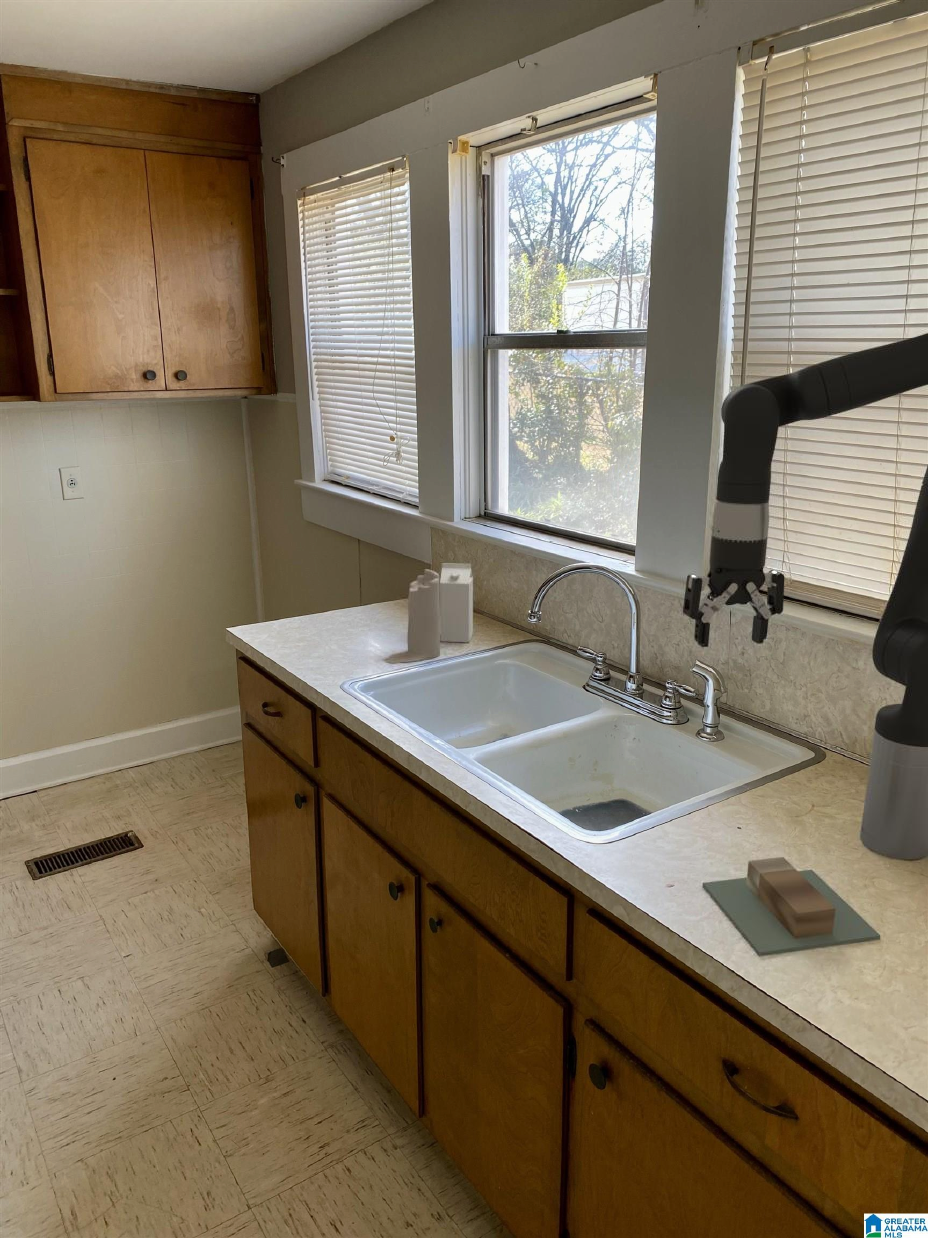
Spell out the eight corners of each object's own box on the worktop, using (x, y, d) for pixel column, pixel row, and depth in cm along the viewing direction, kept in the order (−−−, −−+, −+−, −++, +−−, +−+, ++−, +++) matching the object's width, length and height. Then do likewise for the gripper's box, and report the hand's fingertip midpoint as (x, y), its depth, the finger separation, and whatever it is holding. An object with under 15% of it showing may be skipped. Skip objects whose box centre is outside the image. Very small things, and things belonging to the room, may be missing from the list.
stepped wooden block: (832, 933, 111) (835, 908, 110) (794, 938, 110) (797, 913, 109) (780, 880, 123) (783, 857, 122) (746, 884, 122) (748, 861, 121)
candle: (378, 657, 214) (376, 574, 208) (430, 647, 220) (429, 566, 215) (392, 666, 208) (390, 580, 202) (445, 656, 214) (444, 573, 209)
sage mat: (811, 872, 125) (811, 869, 125) (880, 939, 111) (880, 935, 111) (702, 886, 122) (702, 883, 122) (759, 956, 108) (759, 952, 108)
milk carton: (445, 633, 232) (444, 560, 226) (472, 634, 231) (473, 560, 225) (440, 641, 225) (439, 566, 220) (469, 643, 224) (469, 567, 219)
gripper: (703, 540, 122) (695, 655, 127) (800, 536, 125) (789, 648, 130) (680, 530, 129) (673, 639, 134) (772, 526, 132) (762, 633, 137)
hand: (730, 644), depth 132 cm, fingers open, 8 cm apart
